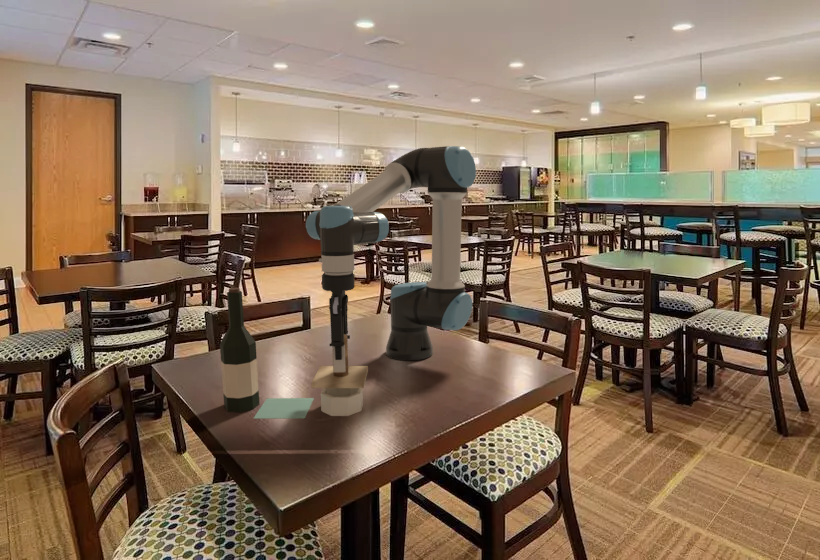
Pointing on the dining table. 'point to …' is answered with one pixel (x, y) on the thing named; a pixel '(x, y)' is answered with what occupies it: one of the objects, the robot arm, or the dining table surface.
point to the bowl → (341, 401)
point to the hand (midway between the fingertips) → (340, 368)
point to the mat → (284, 408)
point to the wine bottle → (238, 360)
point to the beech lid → (340, 375)
